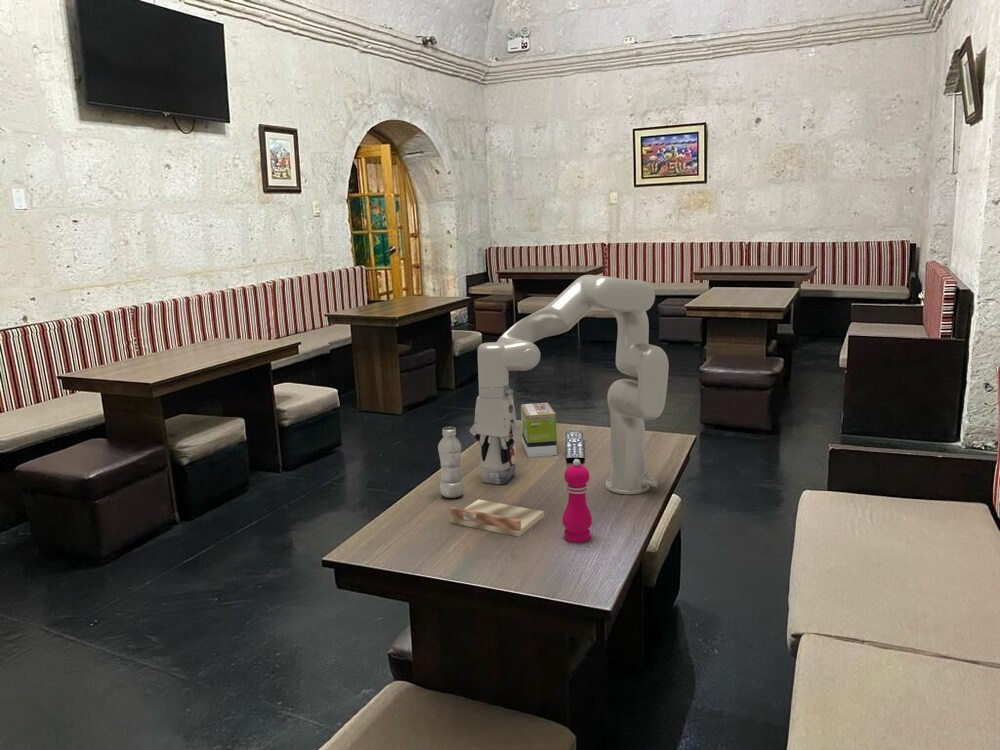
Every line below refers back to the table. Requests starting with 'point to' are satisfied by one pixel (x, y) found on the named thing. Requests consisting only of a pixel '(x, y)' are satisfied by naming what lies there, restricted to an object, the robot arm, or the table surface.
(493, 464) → the flask
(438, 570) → the table surface
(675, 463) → the table surface
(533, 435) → the tea box
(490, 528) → the shelf board
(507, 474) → the juice carton
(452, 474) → the plastic bottle
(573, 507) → the pepper mill
